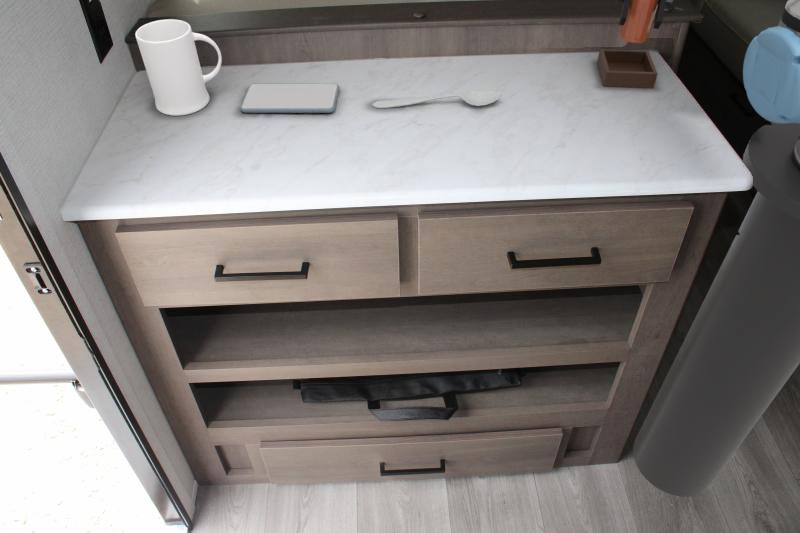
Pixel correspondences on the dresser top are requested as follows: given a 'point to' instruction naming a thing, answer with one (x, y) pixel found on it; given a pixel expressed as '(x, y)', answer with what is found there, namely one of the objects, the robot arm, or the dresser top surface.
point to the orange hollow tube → (639, 20)
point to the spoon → (469, 97)
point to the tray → (626, 68)
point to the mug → (175, 66)
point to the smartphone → (290, 98)
